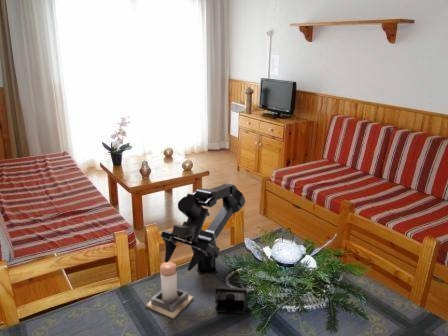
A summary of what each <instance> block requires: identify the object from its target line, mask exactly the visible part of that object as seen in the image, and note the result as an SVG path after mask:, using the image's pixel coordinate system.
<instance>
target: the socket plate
mask: <svg viewBox="0 0 448 336" xmlns="http://www.w3.org/2000/svg"><path fill="white" fill-rule="evenodd" d="M177 294H178V299H177V300H176V301H175V302H174V303H173V304H172V305H171V304H169V303H166V302H164V301H162V289H160V290H159V291H158V292H157V293H155V294H154V295H153V296H152V297H151V298H150V301H148V302H147V303H146V304H145V307H146V308H148V309H151V310H153V311H155V312H157V313H159V314H162V315H164V316H166V317H169V318H171V319H175V318H176V317H177V316H178V315H179V314H180V313H181V312H182V311H183V309H185V308H186V306H188V305H189V304H190V303H191V302H192V301H193V300H194V295H190V294H189V292H188V291H185V290H183V289H180V288H178V287H177Z"/></svg>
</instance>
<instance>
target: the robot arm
mask: <svg viewBox="0 0 448 336" xmlns="http://www.w3.org/2000/svg"><path fill="white" fill-rule="evenodd" d="M221 199H222V207H221V208H220V210H219V212H218V213H217V214H216V215H215V217H214V219H213V220H212V221H211V222H210V224H209V225H208V227H207V228H206V230H204V229H203V226H204V223H205V221H206V218H207V217H209V216H210V212H209V209H208V208H212V207H214V206H215V205H216V204H217V201H218V200H221ZM245 203H246V199H245V196H244V194H243V192H241V190H239V189H238V188H237V186H236V185H235V184H231V183H227V182H226V183H222V184H221V185H218V186H215V187H212V188H198V189H196V190H195V191H194V192H193V193H187V194H186V196H184V197H182V198H181V199H180V200H178V203H177V209H178V210H179V212H180V213H182V214H183V215H184V216H185V217H187V220H186V221H184V222H182V224H173V227H172V228H173V229H172V231H170V230H167V229H164V230H163V231H162V232H161V234H160V236H159V237H160V238H162V241H163V242H164V245H165V253H164V254H165V256H164V263H166V262H170V260H171V258H172V256H173V254H174V251H175V250H176V248H177V243H180V244H183V245H186V246H189V247H191V250H192V253H193V255H192V257H191V260H190V261H189V264H188V266H187V271H189V272H191V270H192V269H193V268H194V267H196V270H197V271H198V272H199V274H200V275H205V274H210V273H215V272H217V271H218V268H217V267H216V259H218V258H219V253H220V247H218V246H217V245H218V244H217V239H218V237H219V235H220V234H221V232H222V231H223V229H224V228H225V226H226V225H227V223H228V222H229V220H230V218H231V217H232V216H233V214H236V213H238V212H239V211H241V209H242V208H243V207H244V206H245ZM205 207H206V208H205Z"/></svg>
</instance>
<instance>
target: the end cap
mask: <svg viewBox="0 0 448 336" xmlns="http://www.w3.org/2000/svg"><path fill="white" fill-rule="evenodd" d="M214 292H215V300H214V302H215V304H214V305H215V306H214V308H215V315H218V316H231V317H232V316H234V317H244V316H245V314H246V312H245V311H246V309H247V308H246V307H247V304H248V303H247V302H248V301H247V299H248V295H247V294H248V289H247V288H246V287H245V288H244V287H242V288H241V287H227V286H226V287H225V286H216V287H215V291H214Z"/></svg>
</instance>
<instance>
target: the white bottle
mask: <svg viewBox="0 0 448 336" xmlns="http://www.w3.org/2000/svg"><path fill="white" fill-rule="evenodd" d="M159 267H160V268H159V269H160V270H159V271H160V283H161V285H160V286H161V290H162V301H164V302H166V303H169V304H171V305H172V304H173V303H174V302H175V301H176V300H177V299H178V294H177V288H178V277H177V276H178V275H177V264H176V262H172V261H168V262H166V263H165V262H163V263H162V264H161V265H160V266H159Z"/></svg>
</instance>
